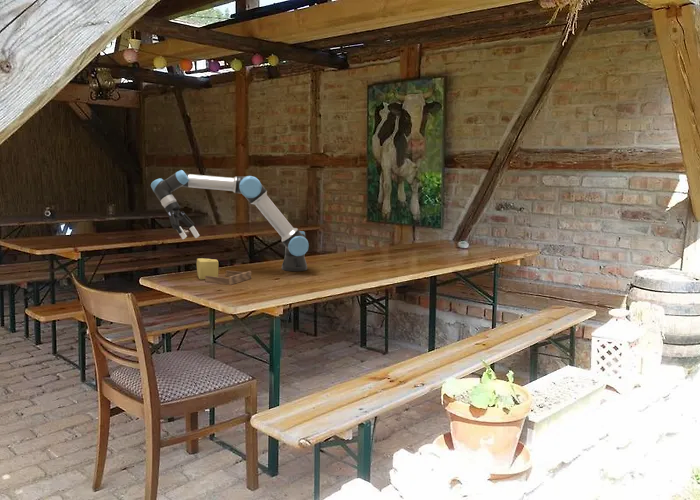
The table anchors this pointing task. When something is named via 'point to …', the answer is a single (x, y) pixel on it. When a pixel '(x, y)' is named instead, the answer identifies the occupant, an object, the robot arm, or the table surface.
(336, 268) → the table surface
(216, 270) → the cheese
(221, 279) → the brown wooden u frame
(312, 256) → the table surface
